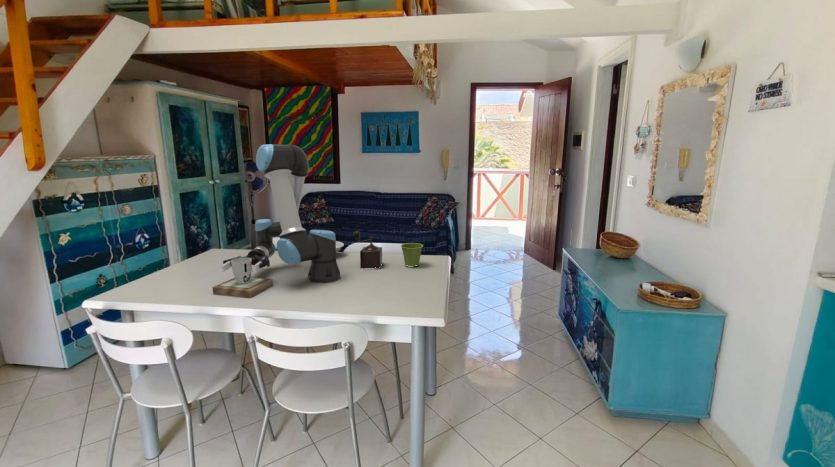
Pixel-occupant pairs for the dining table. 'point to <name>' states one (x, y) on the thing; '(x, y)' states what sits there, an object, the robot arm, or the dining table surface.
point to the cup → (242, 269)
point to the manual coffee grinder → (369, 254)
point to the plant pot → (411, 253)
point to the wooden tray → (243, 287)
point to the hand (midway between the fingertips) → (238, 268)
